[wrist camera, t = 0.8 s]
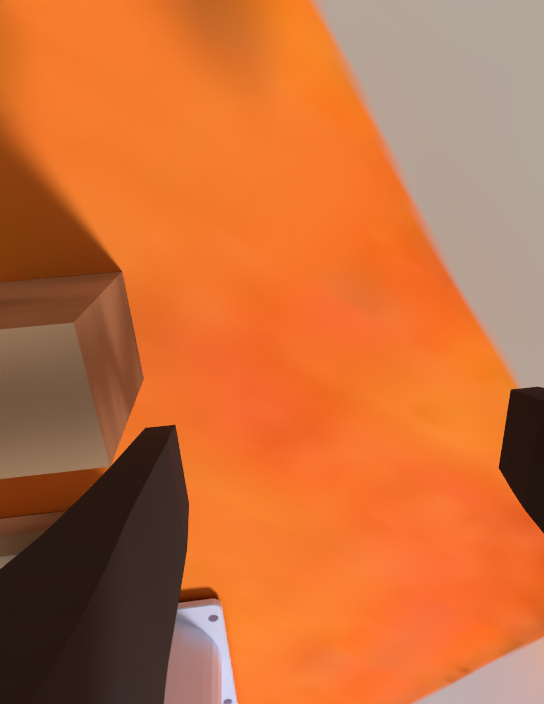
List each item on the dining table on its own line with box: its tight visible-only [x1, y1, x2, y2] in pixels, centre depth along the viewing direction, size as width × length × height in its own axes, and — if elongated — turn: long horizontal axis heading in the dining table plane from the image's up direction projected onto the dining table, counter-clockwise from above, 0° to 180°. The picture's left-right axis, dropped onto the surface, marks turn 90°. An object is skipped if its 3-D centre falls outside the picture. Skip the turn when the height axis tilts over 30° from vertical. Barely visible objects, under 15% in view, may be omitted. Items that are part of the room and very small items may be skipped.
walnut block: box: [0, 271, 144, 479], centre depth 15 cm, size 4×4×6 cm
